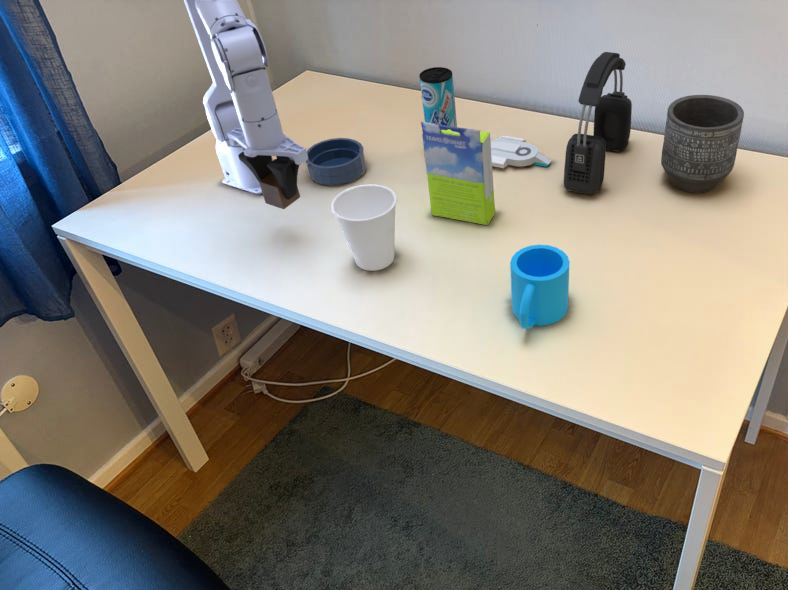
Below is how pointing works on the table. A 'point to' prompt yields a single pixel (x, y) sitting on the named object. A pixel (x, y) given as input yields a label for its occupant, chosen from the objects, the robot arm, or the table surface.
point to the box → (459, 172)
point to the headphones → (598, 127)
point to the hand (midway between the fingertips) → (280, 192)
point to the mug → (539, 285)
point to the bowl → (336, 161)
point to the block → (275, 192)
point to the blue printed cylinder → (438, 96)
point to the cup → (368, 224)
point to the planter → (701, 141)
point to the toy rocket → (515, 153)
